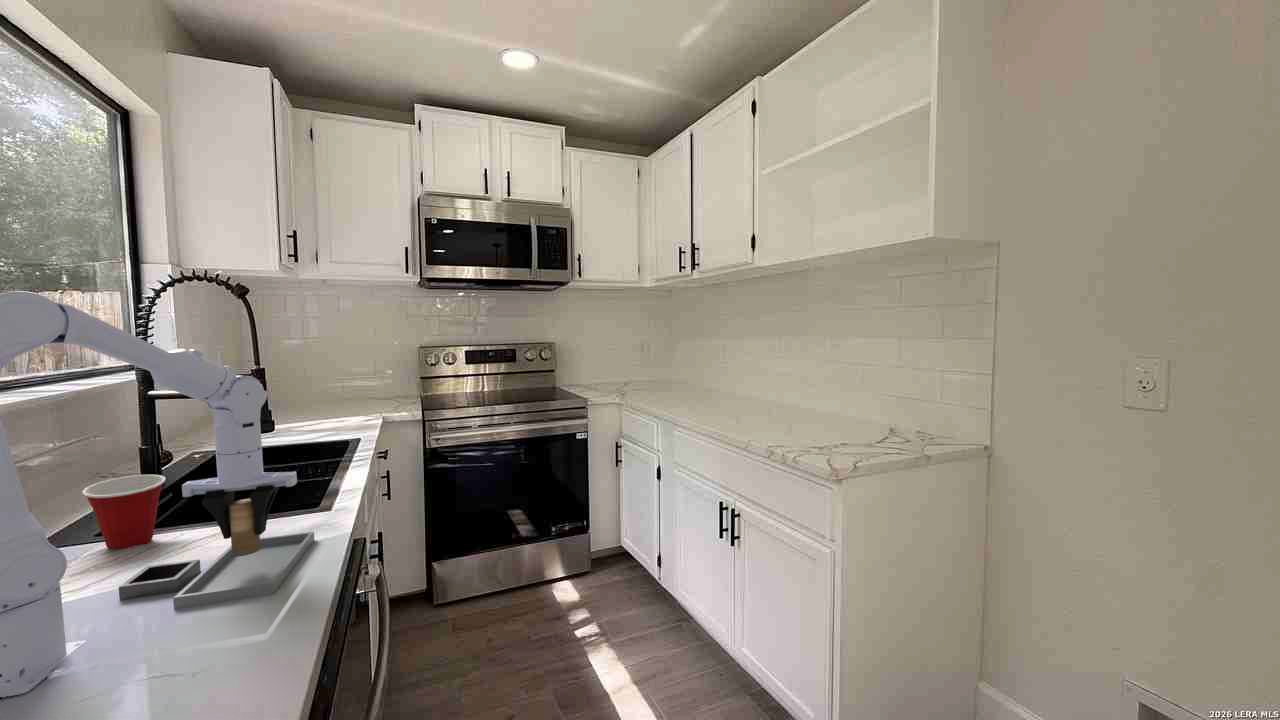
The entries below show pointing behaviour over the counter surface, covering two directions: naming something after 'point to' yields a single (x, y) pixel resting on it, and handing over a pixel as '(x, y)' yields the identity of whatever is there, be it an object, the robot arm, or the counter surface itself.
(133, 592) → the pin holder
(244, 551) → the oak dowel
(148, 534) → the plastic cup
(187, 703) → the counter surface
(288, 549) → the slate tray
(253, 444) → the robot arm
